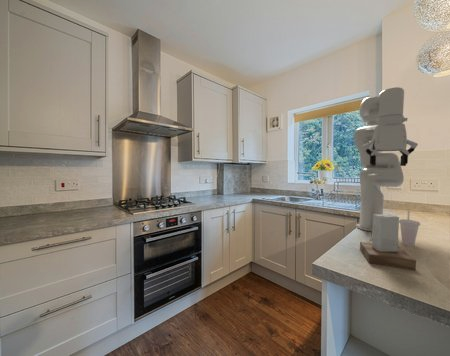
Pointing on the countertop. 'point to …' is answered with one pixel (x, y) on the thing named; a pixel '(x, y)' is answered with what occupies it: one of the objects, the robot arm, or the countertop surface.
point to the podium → (388, 257)
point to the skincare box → (385, 233)
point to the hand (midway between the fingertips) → (387, 165)
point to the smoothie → (409, 230)
